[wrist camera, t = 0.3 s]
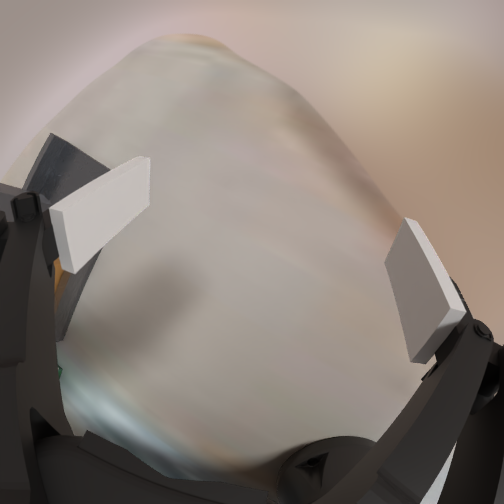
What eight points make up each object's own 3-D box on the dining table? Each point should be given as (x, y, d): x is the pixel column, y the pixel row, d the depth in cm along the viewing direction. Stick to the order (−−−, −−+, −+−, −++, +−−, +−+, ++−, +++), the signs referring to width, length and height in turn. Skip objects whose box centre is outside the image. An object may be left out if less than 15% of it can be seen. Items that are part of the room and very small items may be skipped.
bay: (67, 141, 35) (50, 132, 31) (135, 186, 33) (119, 177, 29) (9, 275, 35) (-8, 276, 31) (63, 340, 34) (44, 345, 30)
